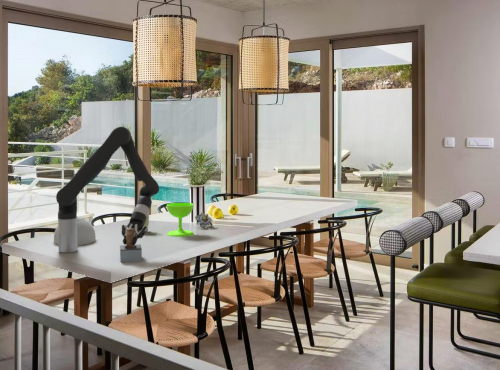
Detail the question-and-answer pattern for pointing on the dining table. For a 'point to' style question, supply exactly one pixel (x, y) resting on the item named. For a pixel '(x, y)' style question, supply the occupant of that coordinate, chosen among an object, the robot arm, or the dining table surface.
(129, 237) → the walnut peg
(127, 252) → the collar
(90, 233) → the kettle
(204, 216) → the passion flower
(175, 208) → the wineglass
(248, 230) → the dining table surface
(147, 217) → the coffee cup
